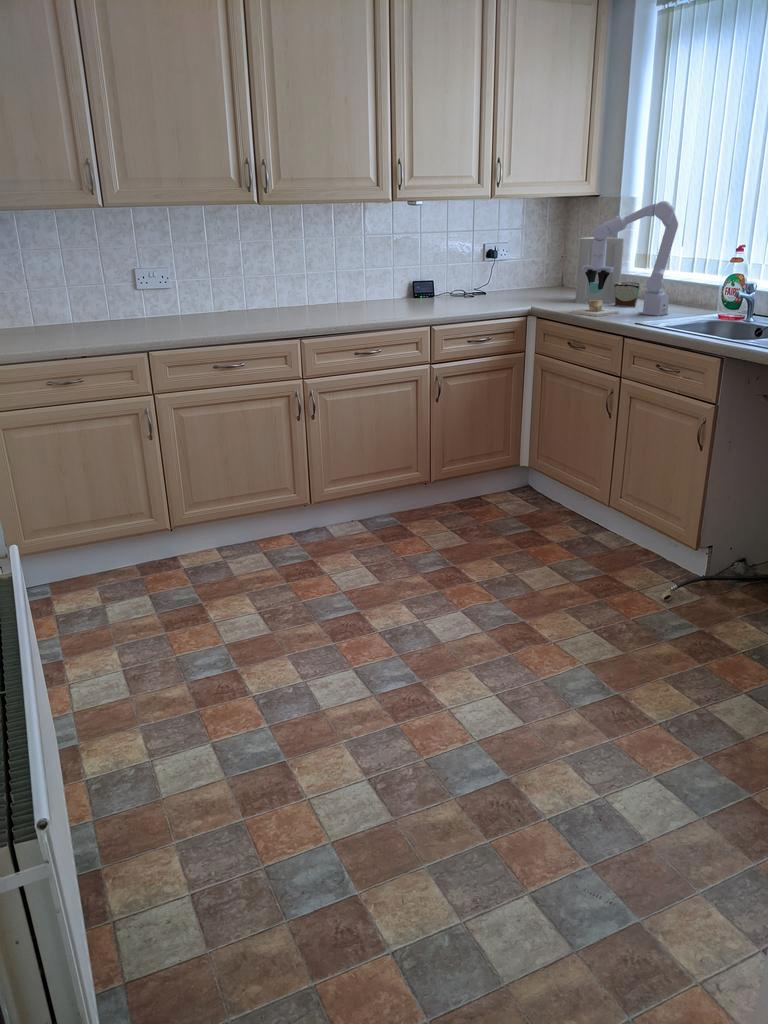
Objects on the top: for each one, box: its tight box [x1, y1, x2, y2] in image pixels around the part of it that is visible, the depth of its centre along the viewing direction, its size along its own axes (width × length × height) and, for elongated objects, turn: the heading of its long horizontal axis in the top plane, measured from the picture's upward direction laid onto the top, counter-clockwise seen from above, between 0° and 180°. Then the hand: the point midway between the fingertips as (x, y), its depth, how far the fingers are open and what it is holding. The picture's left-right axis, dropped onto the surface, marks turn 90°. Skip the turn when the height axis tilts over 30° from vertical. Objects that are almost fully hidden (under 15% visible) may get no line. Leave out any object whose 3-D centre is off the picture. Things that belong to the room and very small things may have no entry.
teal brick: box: [589, 282, 603, 293], centre depth 353 cm, size 4×4×4 cm
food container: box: [614, 281, 642, 308], centre depth 371 cm, size 12×6×10 cm, turn 51°
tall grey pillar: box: [574, 236, 625, 304], centre depth 383 cm, size 19×15×28 cm
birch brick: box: [588, 300, 603, 311], centre depth 351 cm, size 4×4×4 cm
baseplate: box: [570, 307, 620, 317], centre depth 352 cm, size 14×14×1 cm
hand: (596, 288), depth 353 cm, fingers closed on teal brick, 4 cm apart
